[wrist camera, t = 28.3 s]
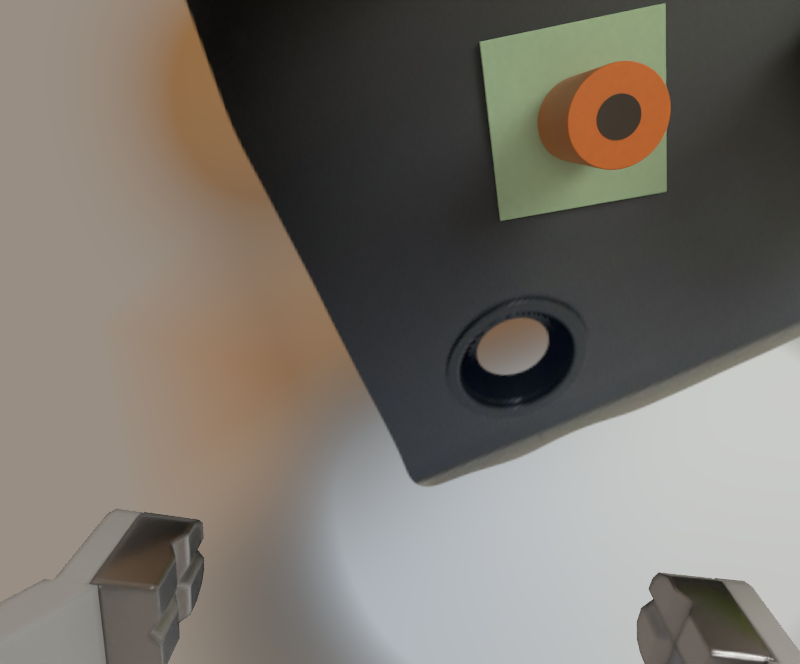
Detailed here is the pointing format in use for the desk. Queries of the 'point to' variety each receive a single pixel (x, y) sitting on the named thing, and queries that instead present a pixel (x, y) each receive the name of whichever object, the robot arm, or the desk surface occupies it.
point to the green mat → (525, 92)
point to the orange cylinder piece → (606, 116)
